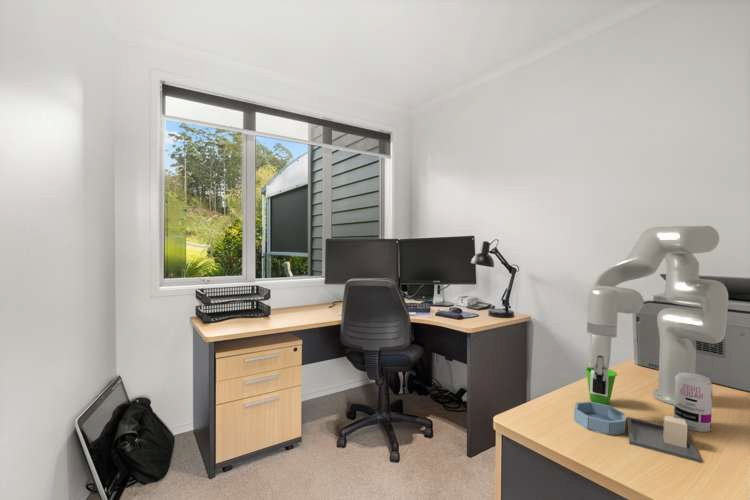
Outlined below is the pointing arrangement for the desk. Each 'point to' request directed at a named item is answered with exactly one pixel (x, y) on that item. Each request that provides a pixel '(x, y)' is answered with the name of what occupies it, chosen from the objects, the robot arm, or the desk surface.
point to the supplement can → (693, 400)
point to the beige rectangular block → (675, 431)
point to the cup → (611, 379)
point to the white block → (592, 384)
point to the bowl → (599, 418)
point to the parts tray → (657, 439)
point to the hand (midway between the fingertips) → (598, 390)
